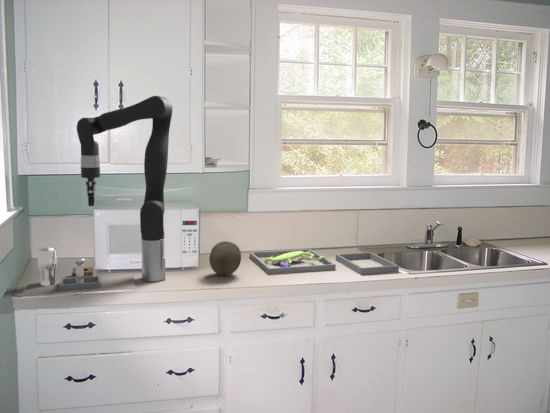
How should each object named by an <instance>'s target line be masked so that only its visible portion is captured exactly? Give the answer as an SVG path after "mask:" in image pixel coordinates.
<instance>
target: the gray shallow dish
mask: <svg viewBox="0 0 550 413" xmlns="http://www.w3.org/2000/svg"><path fill="white" fill-rule="evenodd" d="M368 259H369V260H372V261H373V262H375V261H376V262H375V263H377V262H378V263H377V264H379V263H380V264H379V265H380V266H368V267H362V266H360V265H358V264H356V263H354V262H352V260H353V261H354V260H368ZM335 261H336V262H338V263H339V264H341V265H343V266H345V267H346V268H348V269H350V270H351V271H353V272H355V273H357V274H358V275H360V276H364V275H365V276H367V275H378V274H379V273H382V274H391V273H390V272H396V273H399V272H398V271H400V265H398V264H396V263H395V262H392V261H390V260H388V259H385V258H383V257H381V256H379V255H377V254H375V253H373V252H371V251H367V252H352V253H351V252H350V253H337V254H335ZM381 264H382V265H381ZM383 265H384V266H383Z"/></svg>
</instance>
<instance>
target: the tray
mask: <svg viewBox="0 0 550 413" xmlns="http://www.w3.org/2000/svg"><path fill="white" fill-rule="evenodd" d="M101 279H102V278H101V275H93V276H85V277H84V283H76V277H72V276H70V277H60V279H59V283H58V291H68V290H69V291H70V290H71V291H73V290H85V289H100V288H101V283H102V282H101Z"/></svg>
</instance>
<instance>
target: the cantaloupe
mask: <svg viewBox="0 0 550 413" xmlns="http://www.w3.org/2000/svg"><path fill="white" fill-rule="evenodd" d="M208 261H209V264H210V268H211V269H212V271H213V272H214V273H215V274H216V275H218V276H221V277H227V276H229V275H232V274H234V273H235V272H236V271H237V270H238V269H239V267H240V265H241V261H242V253H241V249H240V247H239V246H238V245H237V244H236V243H234V242H231V241H220V242H218V243H216V244H215V245H214V246H213V247H212V248H211V251H210V254H209V260H208Z"/></svg>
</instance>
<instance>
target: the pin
mask: <svg viewBox="0 0 550 413" xmlns="http://www.w3.org/2000/svg"><path fill="white" fill-rule="evenodd" d="M72 261H73V262H72V263H74V264H75V268H76V283H85V282H84V269H83V268H84V263H86V258H85V257H75V258H73V259H72Z"/></svg>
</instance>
